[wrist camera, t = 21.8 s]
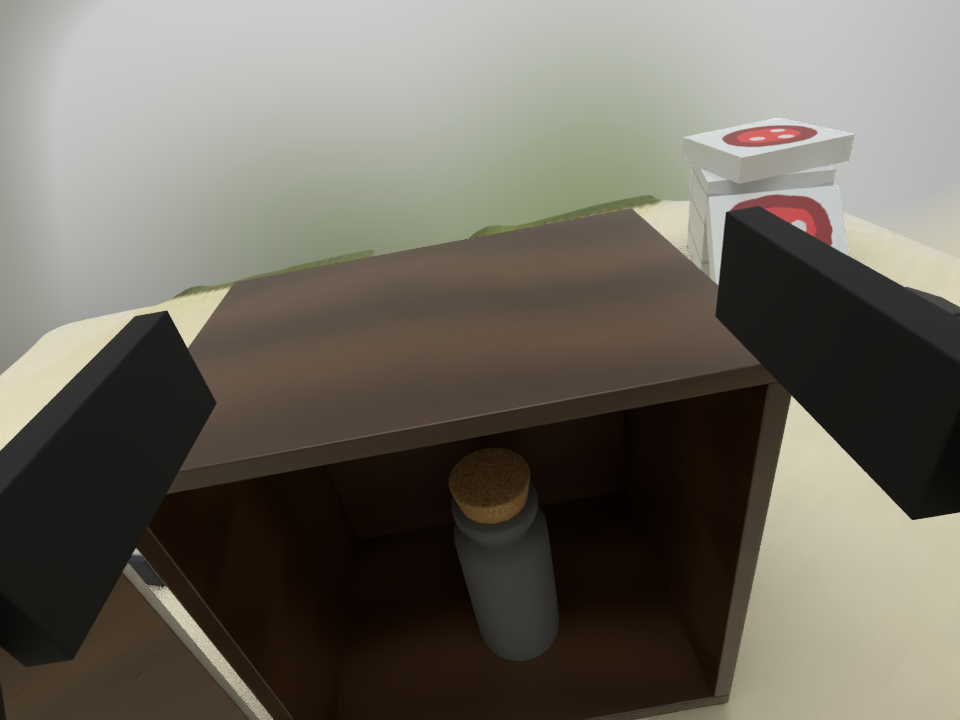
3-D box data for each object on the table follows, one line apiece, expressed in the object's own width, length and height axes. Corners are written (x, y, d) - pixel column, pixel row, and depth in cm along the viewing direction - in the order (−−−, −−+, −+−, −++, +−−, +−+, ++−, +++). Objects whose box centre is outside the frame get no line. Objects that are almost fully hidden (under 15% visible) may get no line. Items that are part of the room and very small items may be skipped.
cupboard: (728, 702, 33) (800, 356, 19) (318, 776, 33) (87, 488, 19) (632, 488, 48) (631, 207, 34) (350, 540, 48) (234, 282, 34)
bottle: (470, 654, 37) (424, 510, 29) (489, 579, 42) (455, 437, 33) (553, 670, 35) (530, 521, 27) (564, 590, 40) (547, 442, 32)
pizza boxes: (698, 331, 68) (710, 189, 58) (674, 240, 92) (678, 129, 82) (871, 325, 63) (916, 169, 53) (797, 231, 87) (818, 112, 77)
